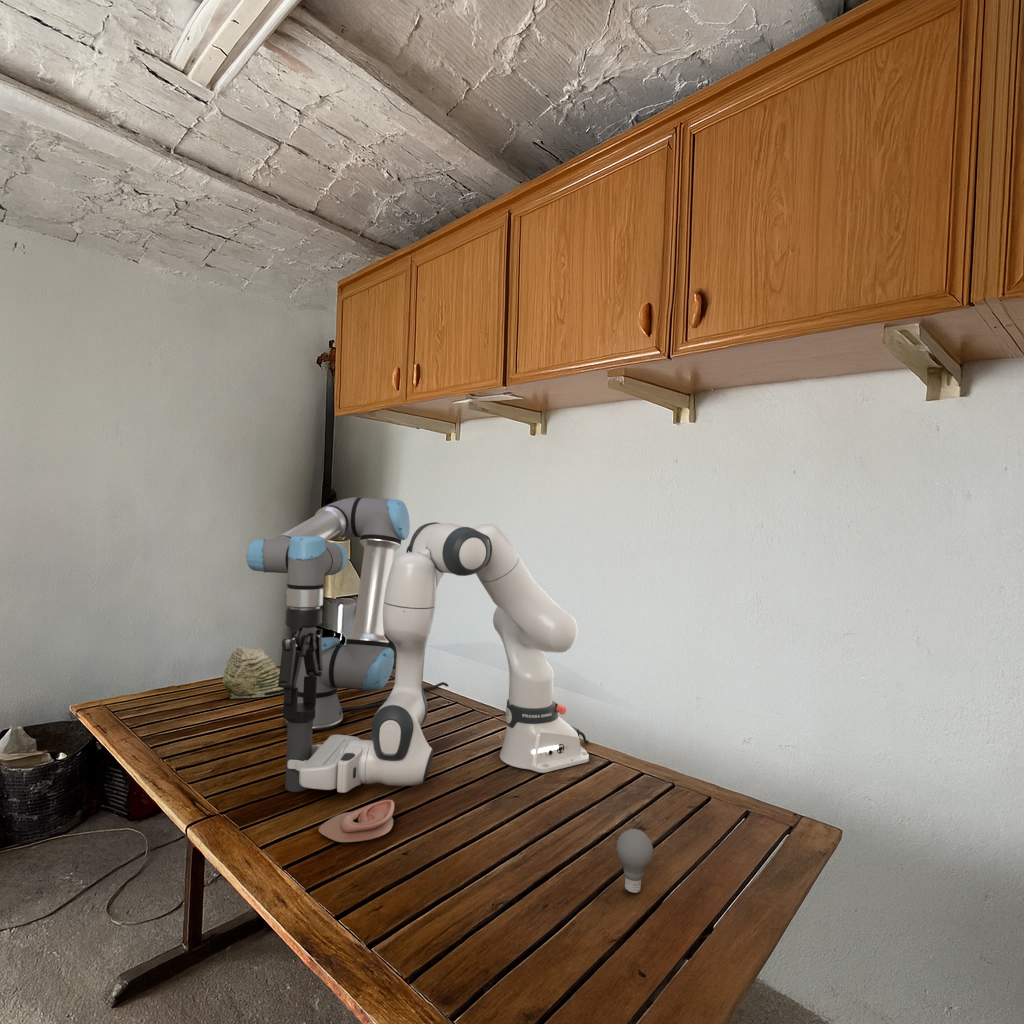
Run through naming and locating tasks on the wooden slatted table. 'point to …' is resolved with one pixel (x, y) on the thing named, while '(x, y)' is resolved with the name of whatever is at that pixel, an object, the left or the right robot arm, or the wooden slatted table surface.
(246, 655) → the fossil
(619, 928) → the wooden slatted table surface
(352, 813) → the anatomical model
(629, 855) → the light bulb
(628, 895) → the wooden slatted table surface
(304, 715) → the lid
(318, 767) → the right robot arm
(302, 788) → the jar
